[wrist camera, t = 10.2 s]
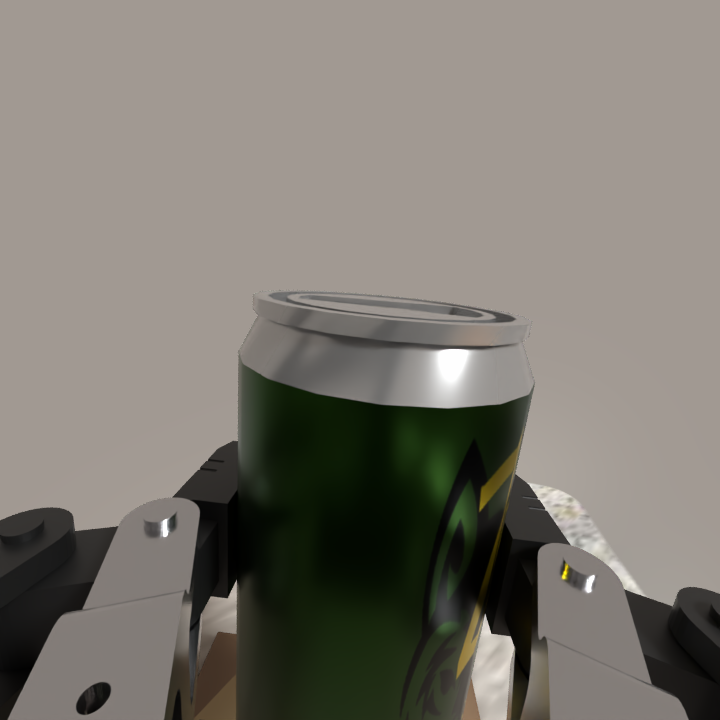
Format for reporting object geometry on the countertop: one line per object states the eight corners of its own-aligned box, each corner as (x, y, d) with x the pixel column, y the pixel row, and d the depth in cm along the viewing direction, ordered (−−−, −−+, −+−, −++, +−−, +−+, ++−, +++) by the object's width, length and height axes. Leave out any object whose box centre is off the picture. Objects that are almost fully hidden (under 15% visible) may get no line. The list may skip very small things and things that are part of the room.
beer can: (190, 905, 7) (164, 300, 4) (274, 638, 12) (288, 286, 9) (461, 958, 7) (633, 345, 4) (430, 662, 12) (493, 305, 9)
